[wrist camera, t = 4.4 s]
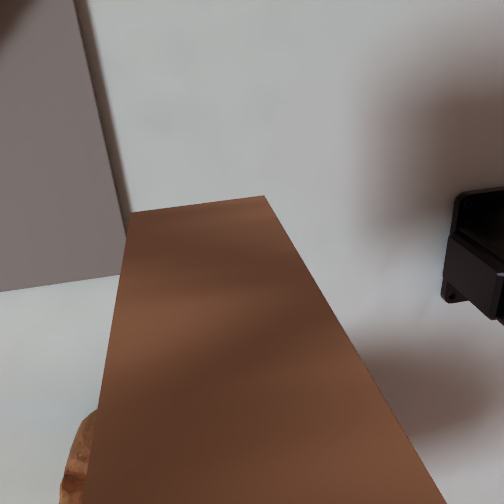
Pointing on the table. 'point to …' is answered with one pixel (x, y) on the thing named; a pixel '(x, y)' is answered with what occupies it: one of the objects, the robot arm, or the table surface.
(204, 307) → the slab
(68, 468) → the brown oblong lump
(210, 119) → the table surface
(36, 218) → the mat
